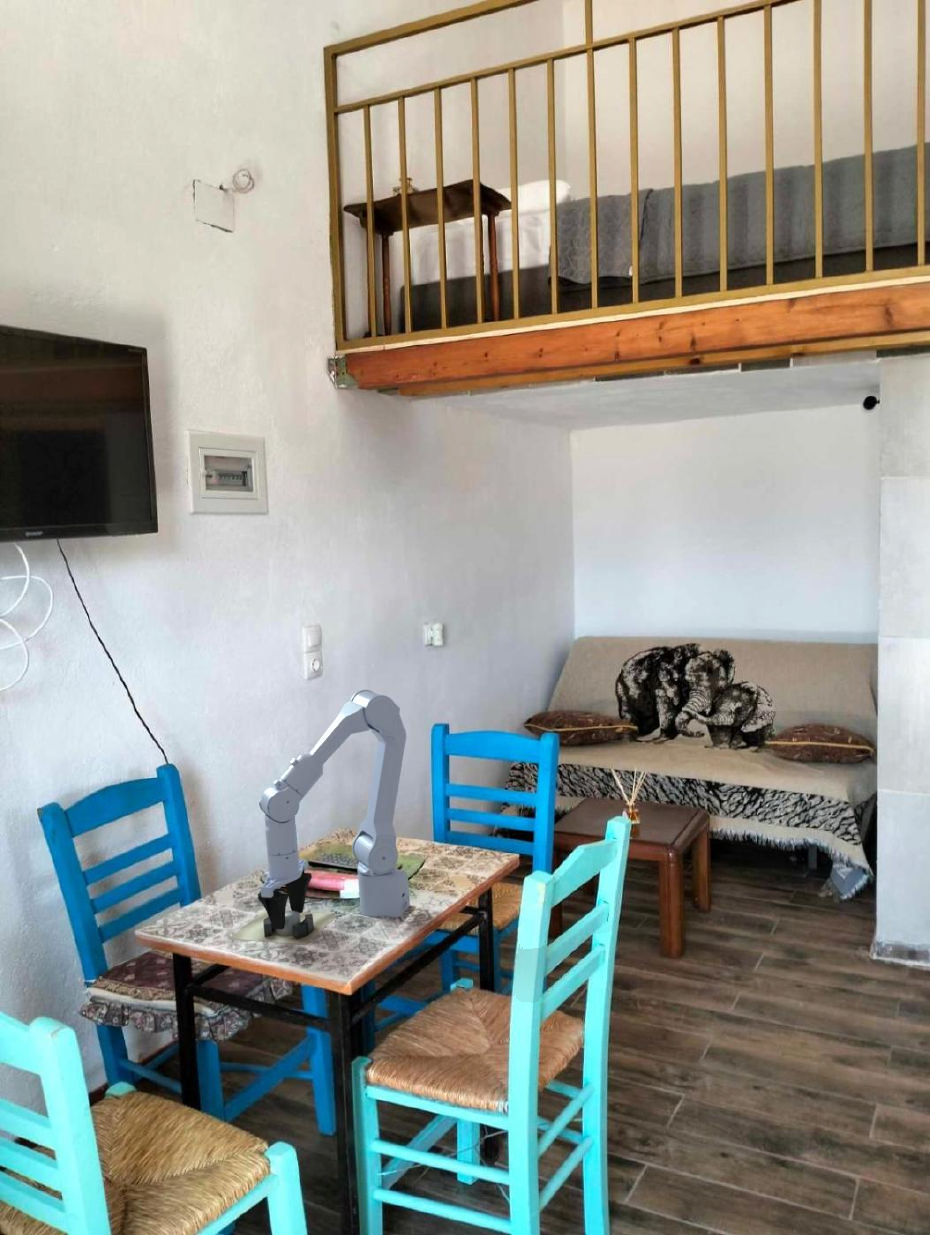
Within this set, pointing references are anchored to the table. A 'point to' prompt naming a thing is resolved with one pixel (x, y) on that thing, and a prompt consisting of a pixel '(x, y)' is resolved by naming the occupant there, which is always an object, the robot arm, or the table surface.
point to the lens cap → (289, 923)
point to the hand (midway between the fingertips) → (288, 920)
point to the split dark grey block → (298, 929)
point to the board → (256, 932)
